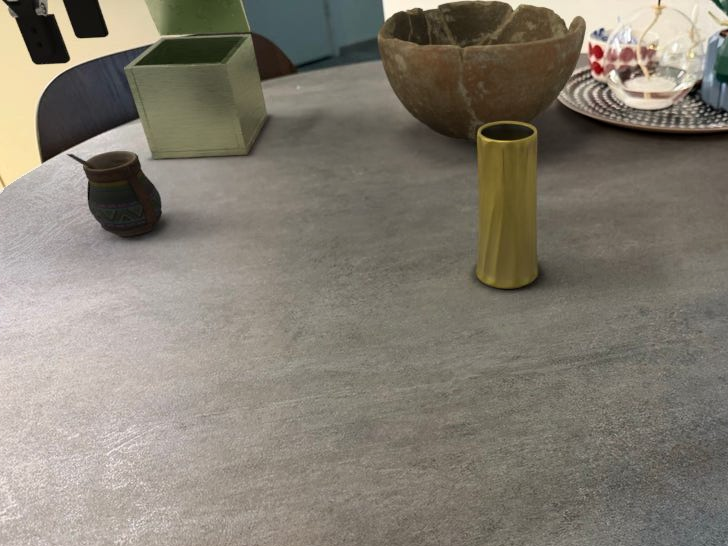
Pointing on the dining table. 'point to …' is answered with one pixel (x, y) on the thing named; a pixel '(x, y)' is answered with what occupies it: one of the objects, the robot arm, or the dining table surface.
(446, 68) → the bowl
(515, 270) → the vase
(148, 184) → the mate gourd
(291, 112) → the dining table surface
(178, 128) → the bin
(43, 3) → the robot arm
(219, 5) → the bin lid
